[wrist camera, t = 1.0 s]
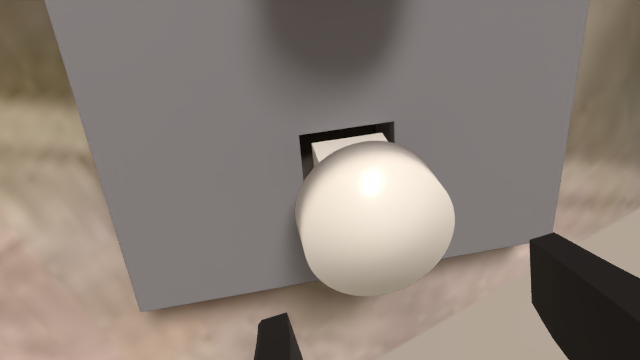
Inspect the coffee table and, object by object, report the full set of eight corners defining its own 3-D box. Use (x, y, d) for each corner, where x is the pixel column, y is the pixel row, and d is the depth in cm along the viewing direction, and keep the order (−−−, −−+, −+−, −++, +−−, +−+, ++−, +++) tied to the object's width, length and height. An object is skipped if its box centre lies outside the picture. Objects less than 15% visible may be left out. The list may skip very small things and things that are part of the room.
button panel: (587, -340, 16) (648, -371, 14) (520, 206, 25) (551, 239, 23) (-21, -312, 14) (-61, -342, 12) (145, 269, 23) (140, 312, 21)
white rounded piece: (411, 100, 19) (458, 154, 15) (410, 213, 21) (451, 282, 18) (277, 119, 18) (296, 180, 15) (291, 232, 20) (310, 308, 17)
